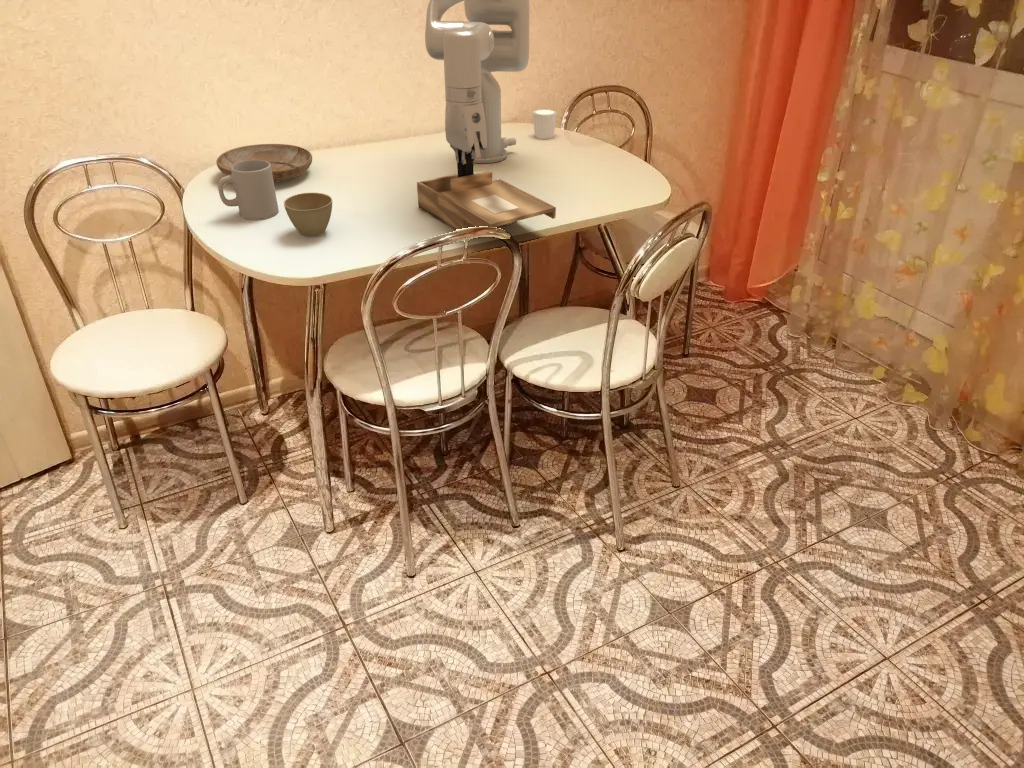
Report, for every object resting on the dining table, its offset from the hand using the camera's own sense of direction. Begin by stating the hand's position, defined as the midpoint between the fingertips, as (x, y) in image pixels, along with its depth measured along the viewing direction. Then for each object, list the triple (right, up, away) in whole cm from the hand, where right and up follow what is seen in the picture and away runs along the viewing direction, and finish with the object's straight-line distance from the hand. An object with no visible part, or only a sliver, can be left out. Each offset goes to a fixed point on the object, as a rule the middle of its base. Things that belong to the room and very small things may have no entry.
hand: (465, 179), depth 171 cm
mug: (-49, -7, +4) cm, 49 cm away
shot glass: (+20, +27, +55) cm, 65 cm away
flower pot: (-33, -13, -4) cm, 35 cm away
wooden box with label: (+7, -8, -6) cm, 12 cm away
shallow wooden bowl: (-52, +8, +26) cm, 59 cm away
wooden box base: (0, -7, +5) cm, 8 cm away
